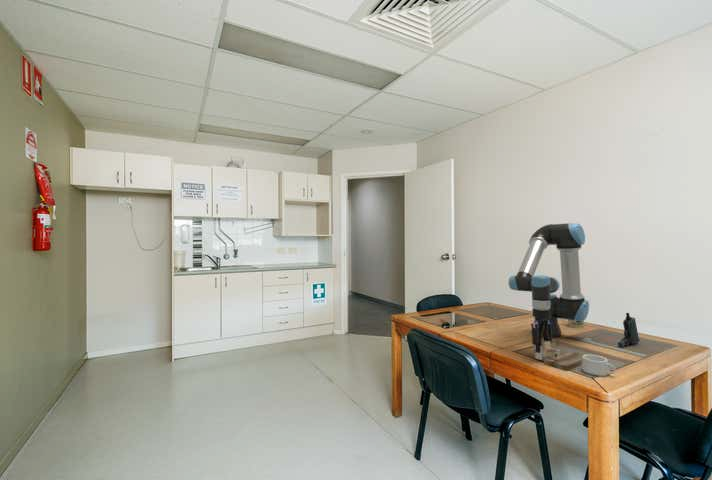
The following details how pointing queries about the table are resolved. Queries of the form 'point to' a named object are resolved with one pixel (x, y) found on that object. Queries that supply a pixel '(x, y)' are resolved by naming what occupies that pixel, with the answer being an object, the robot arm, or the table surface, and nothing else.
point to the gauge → (547, 349)
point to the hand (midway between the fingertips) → (542, 357)
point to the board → (565, 360)
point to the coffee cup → (576, 324)
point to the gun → (629, 332)
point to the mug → (596, 365)
